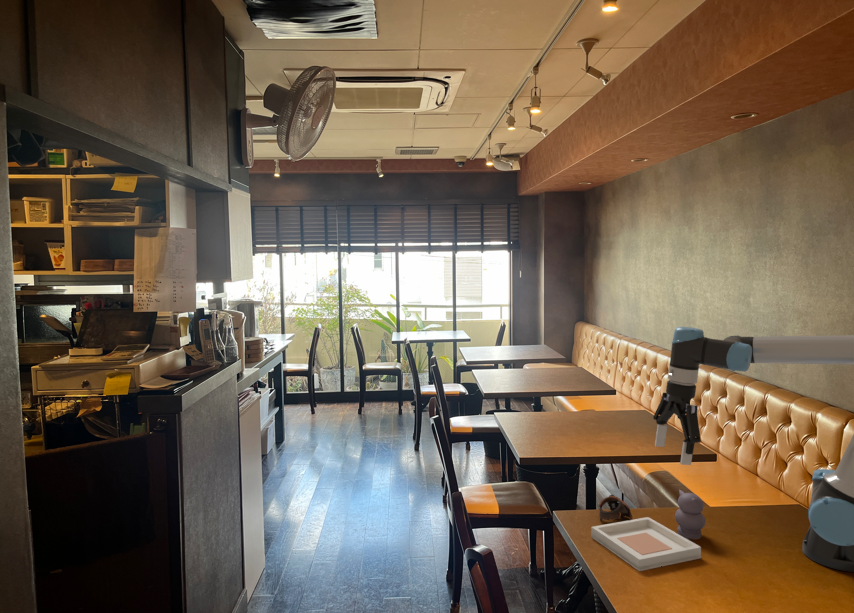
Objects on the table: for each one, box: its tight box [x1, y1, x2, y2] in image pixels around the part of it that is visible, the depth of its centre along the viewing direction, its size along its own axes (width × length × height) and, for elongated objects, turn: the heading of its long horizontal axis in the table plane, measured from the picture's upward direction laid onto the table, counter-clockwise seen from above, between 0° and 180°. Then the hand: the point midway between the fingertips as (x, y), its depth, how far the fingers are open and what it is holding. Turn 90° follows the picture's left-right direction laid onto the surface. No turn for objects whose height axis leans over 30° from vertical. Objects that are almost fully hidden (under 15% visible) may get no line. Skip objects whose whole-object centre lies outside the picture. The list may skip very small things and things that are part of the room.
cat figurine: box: [674, 489, 706, 540], centre depth 164 cm, size 8×8×12 cm
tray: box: [590, 516, 702, 572], centre depth 156 cm, size 20×20×3 cm
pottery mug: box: [598, 494, 633, 521], centre depth 175 cm, size 12×9×8 cm
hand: (672, 455), depth 161 cm, fingers open, 13 cm apart
